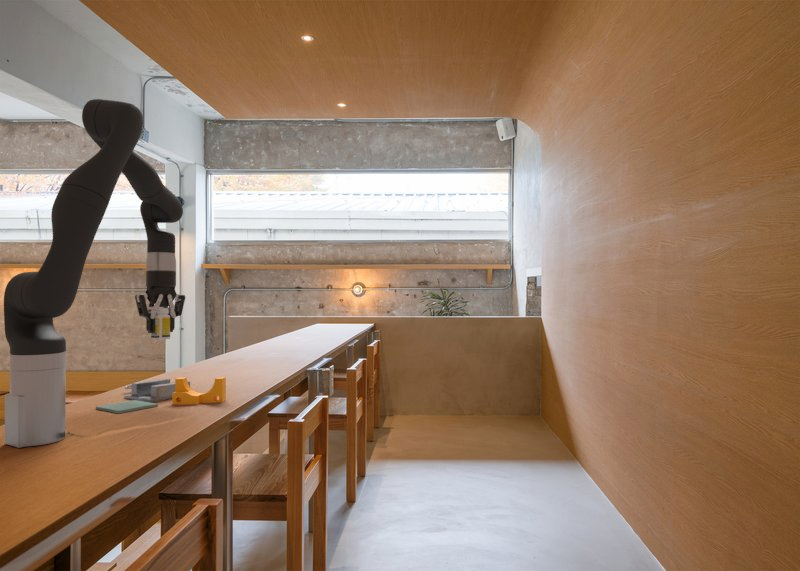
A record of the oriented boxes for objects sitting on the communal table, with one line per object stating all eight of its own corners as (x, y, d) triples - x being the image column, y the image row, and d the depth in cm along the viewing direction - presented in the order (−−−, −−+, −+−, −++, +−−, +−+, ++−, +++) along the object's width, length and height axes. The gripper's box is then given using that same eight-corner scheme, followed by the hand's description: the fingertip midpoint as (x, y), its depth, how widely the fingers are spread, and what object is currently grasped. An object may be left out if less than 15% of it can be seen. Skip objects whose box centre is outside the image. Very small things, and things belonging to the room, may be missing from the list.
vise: (149, 403, 141) (149, 387, 141) (111, 397, 151) (111, 382, 151) (196, 395, 153) (196, 380, 153) (158, 389, 162) (158, 376, 163)
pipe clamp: (172, 405, 139) (172, 380, 139) (179, 402, 143) (179, 377, 143) (220, 405, 139) (220, 379, 139) (225, 402, 143) (225, 377, 143)
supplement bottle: (170, 338, 153) (170, 308, 153) (169, 339, 149) (170, 308, 149) (151, 339, 151) (151, 308, 152) (150, 340, 147) (150, 308, 147)
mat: (118, 413, 129) (118, 410, 129) (95, 409, 134) (95, 406, 134) (157, 406, 137) (157, 403, 137) (134, 402, 143) (134, 400, 143)
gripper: (144, 268, 143) (143, 334, 142) (192, 270, 155) (192, 331, 154) (128, 269, 147) (127, 333, 146) (176, 271, 159) (175, 331, 158)
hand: (160, 332), depth 150 cm, fingers closed on supplement bottle, 4 cm apart
